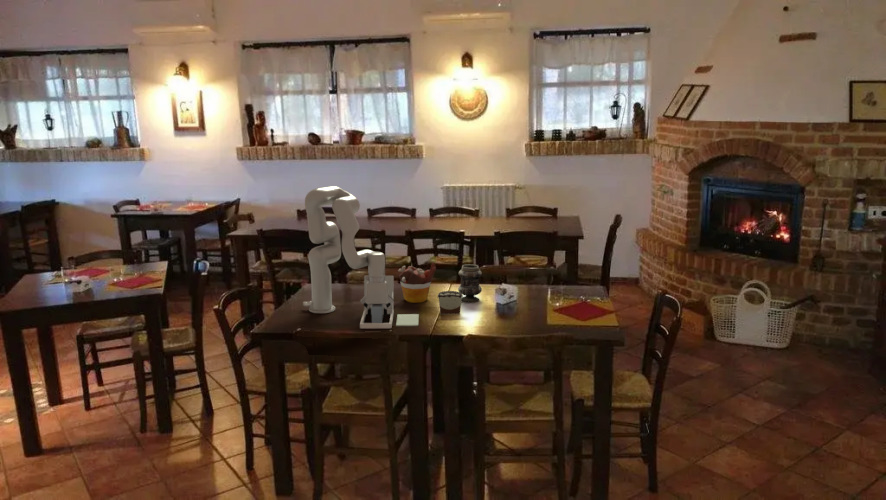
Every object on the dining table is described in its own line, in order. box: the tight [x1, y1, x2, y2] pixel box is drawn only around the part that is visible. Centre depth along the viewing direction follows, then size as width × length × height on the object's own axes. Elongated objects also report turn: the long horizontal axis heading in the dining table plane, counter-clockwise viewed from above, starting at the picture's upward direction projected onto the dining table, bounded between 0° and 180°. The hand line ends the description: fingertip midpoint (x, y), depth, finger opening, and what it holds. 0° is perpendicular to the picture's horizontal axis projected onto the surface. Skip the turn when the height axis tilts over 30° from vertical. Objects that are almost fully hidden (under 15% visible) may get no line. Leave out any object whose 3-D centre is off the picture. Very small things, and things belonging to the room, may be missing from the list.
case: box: [359, 275, 395, 329], centre depth 316 cm, size 14×26×18 cm, turn 1°
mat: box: [395, 313, 420, 327], centre depth 316 cm, size 10×16×1 cm, turn 1°
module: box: [371, 304, 384, 323], centre depth 315 cm, size 4×9×8 cm, turn 1°
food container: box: [437, 290, 464, 315], centre depth 328 cm, size 12×6×10 cm, turn 92°
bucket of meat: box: [397, 262, 437, 304], centre depth 347 cm, size 20×16×20 cm
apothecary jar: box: [457, 264, 483, 304], centre depth 348 cm, size 12×12×18 cm
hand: (377, 316), depth 315 cm, fingers open, 6 cm apart
